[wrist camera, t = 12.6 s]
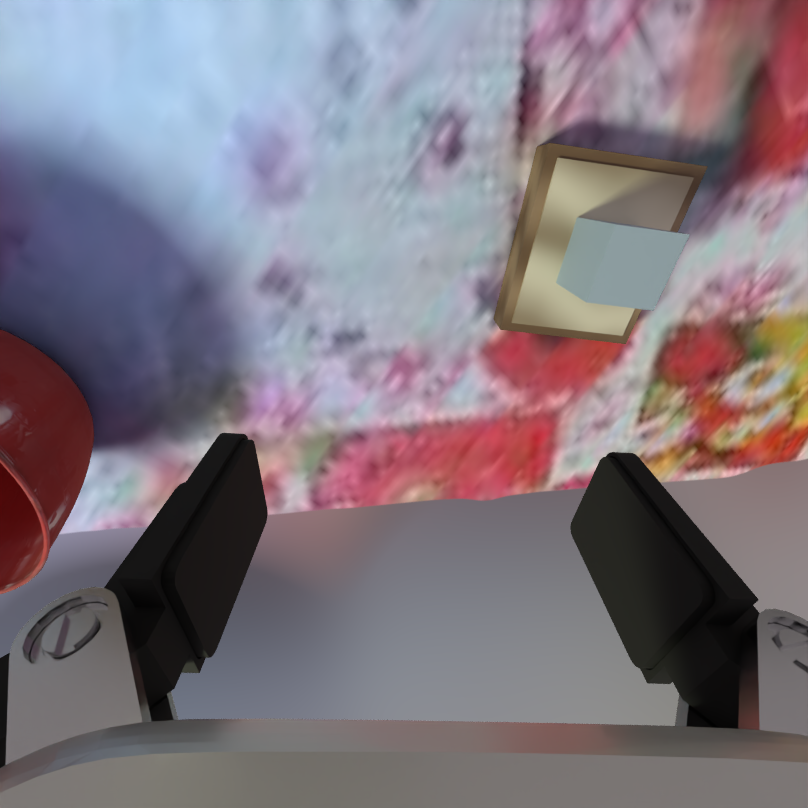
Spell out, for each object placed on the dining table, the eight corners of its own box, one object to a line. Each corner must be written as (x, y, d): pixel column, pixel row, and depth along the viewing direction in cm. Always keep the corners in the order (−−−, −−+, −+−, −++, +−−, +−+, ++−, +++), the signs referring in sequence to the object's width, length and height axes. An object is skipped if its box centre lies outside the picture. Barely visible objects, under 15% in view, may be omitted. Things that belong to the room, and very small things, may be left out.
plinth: (537, 146, 29) (551, 142, 26) (681, 168, 29) (710, 166, 26) (493, 319, 36) (501, 330, 33) (609, 332, 36) (626, 345, 34)
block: (577, 217, 28) (615, 224, 23) (638, 225, 29) (689, 234, 23) (555, 282, 31) (586, 302, 26) (612, 289, 31) (653, 310, 26)
